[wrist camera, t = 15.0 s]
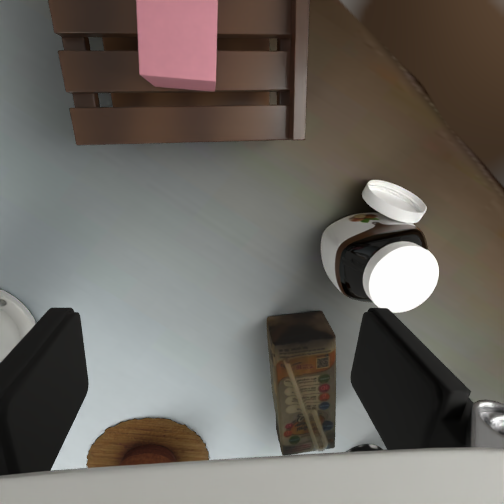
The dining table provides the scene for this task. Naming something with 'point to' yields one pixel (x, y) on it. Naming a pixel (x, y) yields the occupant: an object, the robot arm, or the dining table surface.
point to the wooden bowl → (146, 444)
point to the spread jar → (381, 251)
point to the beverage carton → (303, 381)
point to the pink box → (178, 43)
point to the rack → (183, 100)
